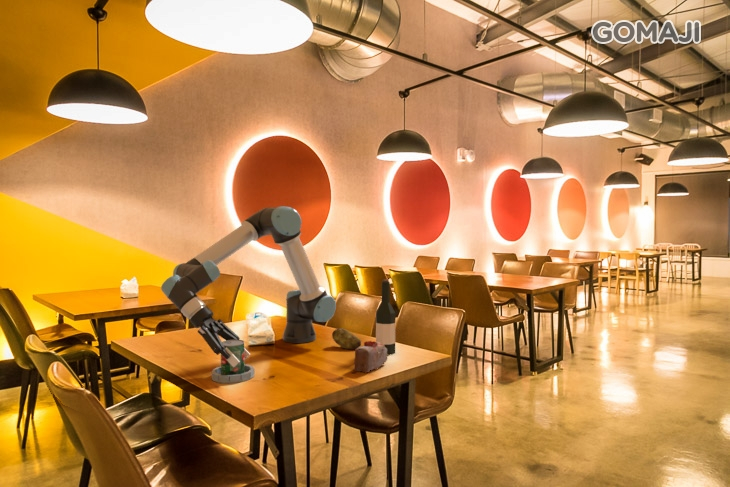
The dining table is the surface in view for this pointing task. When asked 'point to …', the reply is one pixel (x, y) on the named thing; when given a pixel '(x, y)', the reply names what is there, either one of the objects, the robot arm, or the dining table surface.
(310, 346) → the dining table surface
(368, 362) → the food item
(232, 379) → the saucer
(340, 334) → the potato
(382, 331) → the wine bottle
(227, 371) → the canned tomato
